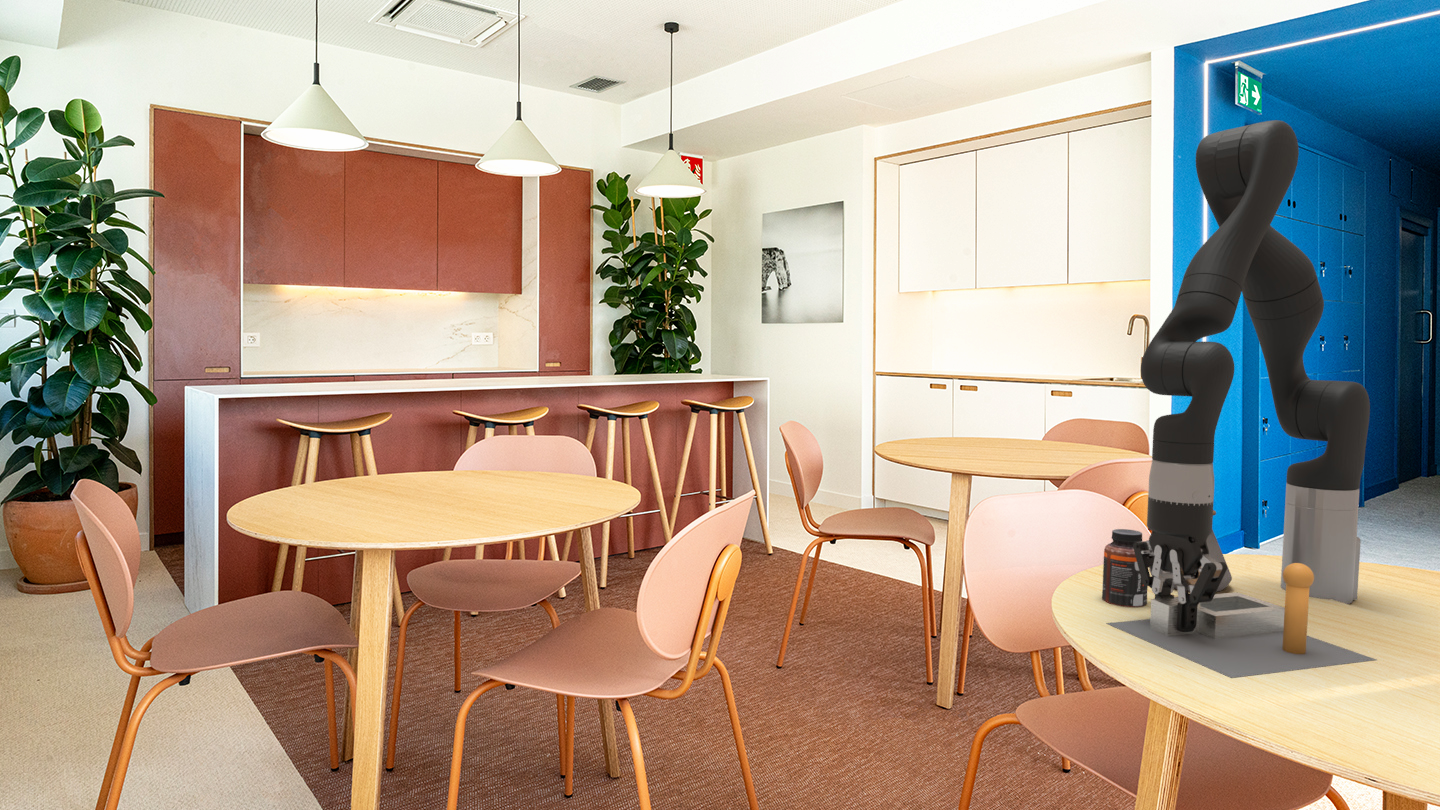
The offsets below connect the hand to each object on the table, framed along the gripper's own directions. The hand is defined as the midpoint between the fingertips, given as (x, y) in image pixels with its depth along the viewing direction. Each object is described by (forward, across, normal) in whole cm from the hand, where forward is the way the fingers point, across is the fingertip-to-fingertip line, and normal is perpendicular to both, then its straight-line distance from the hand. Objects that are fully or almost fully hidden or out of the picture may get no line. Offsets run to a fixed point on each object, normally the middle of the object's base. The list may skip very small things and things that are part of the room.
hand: (1174, 626), depth 115 cm
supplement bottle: (+2, +13, -4) cm, 14 cm away
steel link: (+1, 0, -6) cm, 6 cm away
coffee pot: (+2, +15, -16) cm, 22 cm away
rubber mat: (+2, -5, -4) cm, 7 cm away
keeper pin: (+2, -10, -8) cm, 13 cm away
